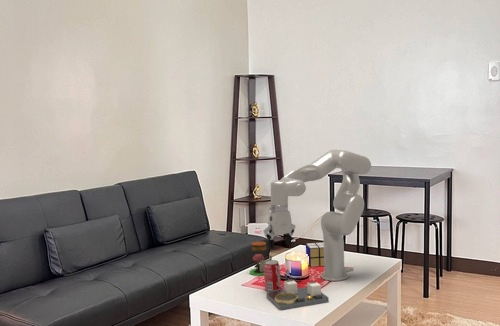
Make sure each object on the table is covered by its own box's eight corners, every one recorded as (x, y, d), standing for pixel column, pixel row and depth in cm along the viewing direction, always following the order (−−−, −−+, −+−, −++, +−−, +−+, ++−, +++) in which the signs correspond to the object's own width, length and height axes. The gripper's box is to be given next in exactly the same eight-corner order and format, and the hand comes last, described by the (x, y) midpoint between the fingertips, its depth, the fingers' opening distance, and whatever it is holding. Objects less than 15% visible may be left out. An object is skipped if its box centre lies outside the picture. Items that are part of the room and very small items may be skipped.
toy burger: (244, 276, 269) (243, 246, 268) (252, 268, 281) (251, 239, 279) (267, 277, 266) (266, 247, 264) (274, 269, 277) (273, 240, 276)
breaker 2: (315, 291, 237) (315, 280, 236) (321, 295, 232) (320, 284, 232) (307, 292, 236) (307, 282, 235) (312, 296, 231) (312, 285, 230)
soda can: (279, 292, 244) (278, 264, 242) (263, 292, 245) (262, 264, 244) (281, 287, 251) (280, 259, 249) (266, 287, 252) (265, 259, 251)
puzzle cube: (306, 262, 289) (305, 243, 287) (324, 260, 290) (324, 242, 288) (310, 267, 279) (309, 248, 278) (329, 266, 280) (328, 247, 279)
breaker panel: (312, 290, 245) (312, 283, 245) (328, 302, 230) (328, 295, 230) (266, 297, 238) (266, 290, 238) (279, 310, 223) (279, 303, 223)
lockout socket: (292, 294, 235) (292, 291, 235) (301, 301, 226) (301, 298, 226) (271, 297, 232) (271, 294, 232) (279, 305, 223) (279, 302, 223)
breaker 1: (293, 289, 240) (292, 279, 240) (297, 293, 236) (297, 282, 235) (284, 290, 239) (284, 280, 239) (288, 294, 234) (288, 283, 234)
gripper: (269, 212, 234) (269, 251, 236) (299, 207, 244) (300, 244, 246) (258, 209, 240) (259, 247, 242) (289, 205, 250) (289, 241, 252)
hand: (280, 246), depth 244 cm, fingers open, 9 cm apart
